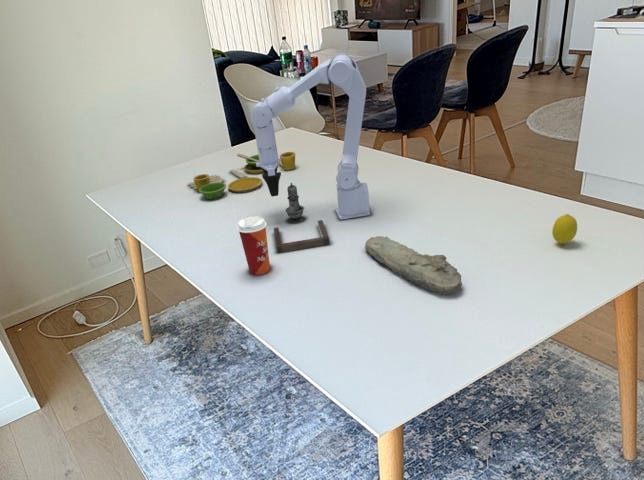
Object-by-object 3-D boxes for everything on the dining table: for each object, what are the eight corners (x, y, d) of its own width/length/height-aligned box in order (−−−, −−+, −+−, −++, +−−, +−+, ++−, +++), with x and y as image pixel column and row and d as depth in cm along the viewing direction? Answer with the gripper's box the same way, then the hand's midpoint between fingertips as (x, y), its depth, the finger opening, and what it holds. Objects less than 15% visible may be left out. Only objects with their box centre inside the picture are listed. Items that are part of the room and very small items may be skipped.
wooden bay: (323, 226, 172) (322, 219, 171) (329, 244, 161) (328, 238, 160) (274, 233, 172) (273, 227, 171) (277, 253, 161) (276, 246, 160)
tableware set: (278, 158, 232) (276, 142, 228) (310, 174, 211) (308, 157, 207) (183, 185, 221) (179, 169, 217) (207, 205, 200) (203, 187, 196)
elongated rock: (386, 244, 159) (356, 258, 156) (384, 227, 156) (353, 240, 153) (475, 286, 132) (441, 302, 129) (474, 265, 129) (439, 282, 126)
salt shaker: (286, 217, 181) (280, 180, 174) (304, 214, 181) (299, 177, 174) (287, 225, 176) (282, 187, 169) (306, 221, 176) (301, 184, 169)
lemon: (573, 239, 144) (579, 209, 140) (574, 249, 140) (580, 219, 136) (550, 239, 146) (554, 209, 142) (550, 248, 142) (555, 218, 137)
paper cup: (270, 276, 151) (261, 227, 142) (242, 277, 152) (232, 228, 144) (276, 262, 157) (268, 214, 148) (250, 263, 158) (240, 216, 150)
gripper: (252, 142, 173) (259, 185, 181) (254, 156, 162) (262, 201, 170) (275, 138, 173) (281, 182, 181) (279, 152, 162) (285, 197, 170)
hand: (273, 191), depth 176 cm, fingers open, 7 cm apart
